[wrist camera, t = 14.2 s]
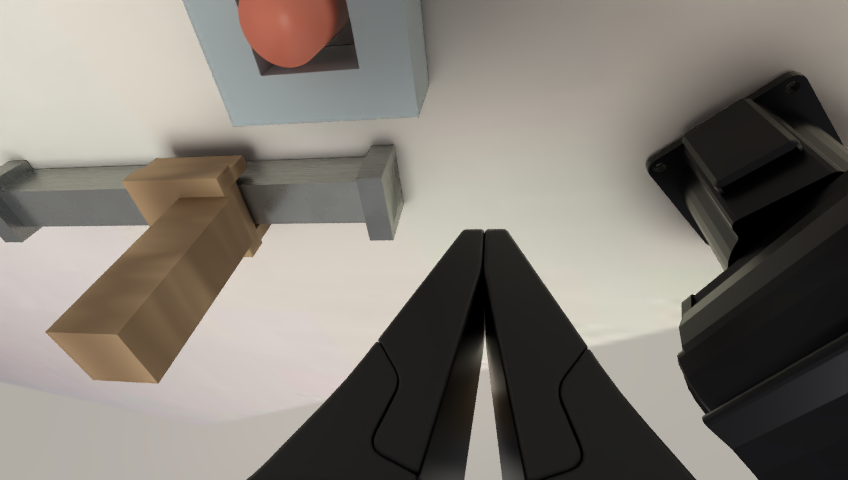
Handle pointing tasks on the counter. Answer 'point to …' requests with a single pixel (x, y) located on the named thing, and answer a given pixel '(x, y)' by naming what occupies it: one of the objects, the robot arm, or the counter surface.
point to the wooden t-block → (163, 270)
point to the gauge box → (319, 67)
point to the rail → (259, 184)
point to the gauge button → (291, 27)
